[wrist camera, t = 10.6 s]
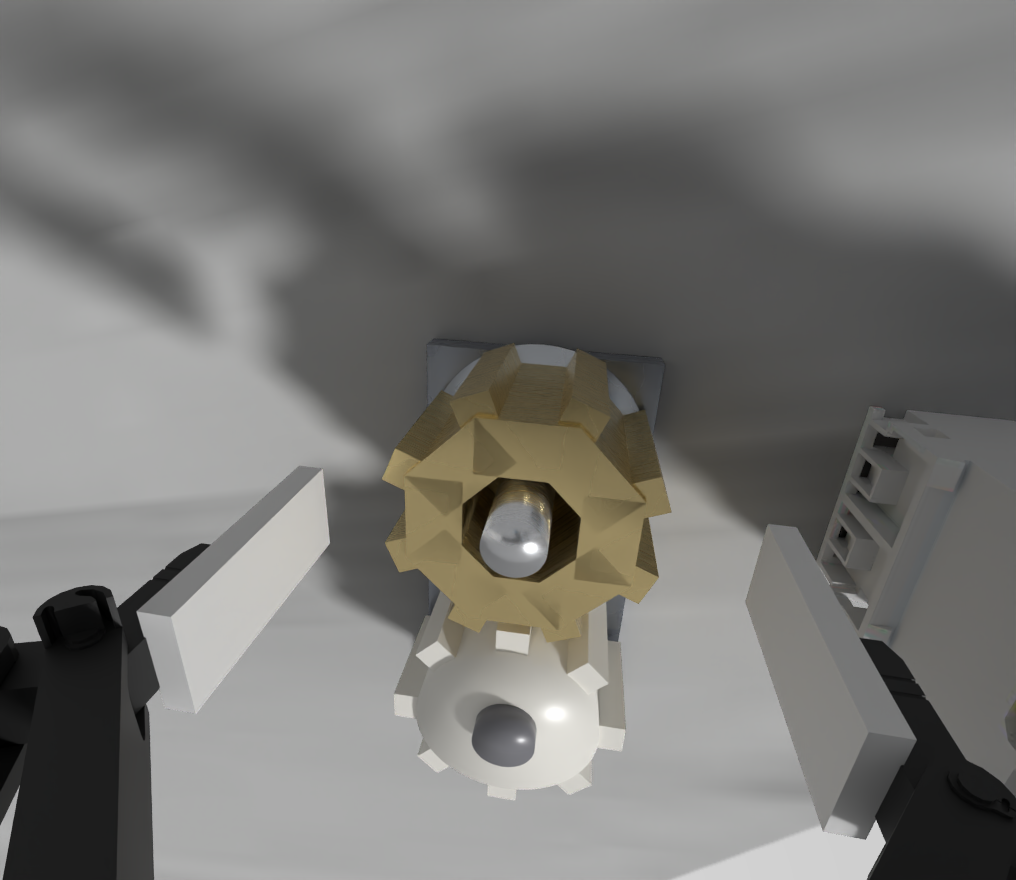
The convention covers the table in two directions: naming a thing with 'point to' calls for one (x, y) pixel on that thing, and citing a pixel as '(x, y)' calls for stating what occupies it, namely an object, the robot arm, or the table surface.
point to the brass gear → (535, 457)
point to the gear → (513, 701)
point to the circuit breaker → (937, 567)
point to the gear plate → (624, 366)
